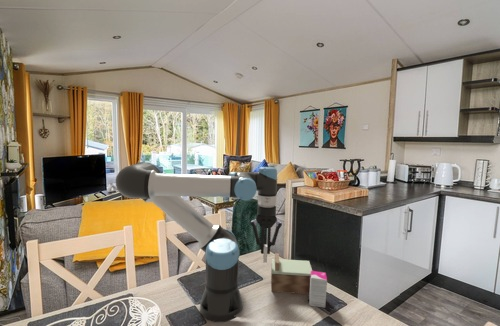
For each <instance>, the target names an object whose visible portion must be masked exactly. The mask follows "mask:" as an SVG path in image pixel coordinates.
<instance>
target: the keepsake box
mask: <svg viewBox="0 0 500 326" xmlns="http://www.w3.org/2000/svg"><path fill="white" fill-rule="evenodd" d="M270 276H271V279H270V283H271V285H270V287H271V288H270V289H271V290H270V291H271V292H272V293H286V294H287V293H288V294H303V295H305V294H306V295H309V290H310V276H299V275H283V274H272V268H271V273H270Z"/></svg>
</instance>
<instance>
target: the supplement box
mask: <svg viewBox="0 0 500 326" xmlns="http://www.w3.org/2000/svg"><path fill="white" fill-rule="evenodd" d="M327 285H328V277H327V273H326V272H323V271H316V270H312V271H311V276H310V290H309V294H308V304H309V306H312V307H318V308H319V307H320V308H326V303H327V289H328V286H327Z"/></svg>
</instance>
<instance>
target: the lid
mask: <svg viewBox="0 0 500 326" xmlns="http://www.w3.org/2000/svg"><path fill="white" fill-rule="evenodd" d="M271 269H272V274H283V275H299V276H311V271H313V269H312V265H311V263H310V260H297V259H286V258H285V259H284V258H280V254H279V253H278V252H275V253H274V258H271Z"/></svg>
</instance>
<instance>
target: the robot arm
mask: <svg viewBox="0 0 500 326" xmlns="http://www.w3.org/2000/svg"><path fill="white" fill-rule="evenodd" d="M115 187H116V189H117V191H118V193H120V194H121V195H122V196H123V197H125V198H128V199H134V200H135V199H142V201H144V202H145V203H153V204H154V205H155V207H157V208H159V209H160V210H161V211H162V212H163V213H164V214H166V215H167V216H168V217H169V218H170V219H171V220H172V221H174V222H175V223H176V224H177V225H179V226H180V227H181V228H182V229H183V230H184V231H186V232H187V233H188V234H189V235H190V236H192V237H193V238H194V239H195V240H196V241H197V242H198V248H199V249H201V250H202V251H203V252H204V253H205V254H204V258H205V287H204V290H203V293H202V296H201V299H200V304H199V305H200V308H199V311H200V314H201V315H202V317H204V318H205V319H206V320H209V321H211V322H212V321H213V322H217V323H218V322H228V321H230V320H234V319H235V318H236V315H238V314H239V313H240V312H241V311H242V309H243V302H244V301H243V298H242V295H241V291H240V289H239V265H240V264H239V263H240V262H239V260H240V259H239V258H240V250H239V245H238V241H237V238H236V236H235V234H234V233H233V232H232V231H231V230H229V229H227V228H224V227H222V226H221V225H220V224H213V223H212V222H211V221H209V220H208V218H206V217H205V216H204V215H203V214H201V212H199V211H198V210H197V209H196V208H194V207H193V206H192V205H191V204H190V203H189V202H188V201H187V200H185V199H184V198H183V197H194V198H195V197H199V198H200V197H203V198H232V199H233V198H234V199H239V200H242V201H250V200H252V199H253V198H254V197H255V195H256V194H257V213H256V214H257V215H256V217H255V219H254V220H253V219H252V220H251V221H250V225H251V226H252V228H253V233H254V234H253V235H254V239H255V242H256V245H257V246H260V254H262V255H263V259H262V260H263V261H262V263H268V255H270V254H271V247H273V246H275V245H276V242H277V238H278V234H279V231H280V229H281V228H282V224H283V222H282V221H279V220H278V218H277V206H276V205H277V189H278V171H277V168H275V167H272V166H261V167H259V168H258V170H257V171H252V172H251V171H230V172H229V174H228V175H212V174H211V175H210V174H209V175H207V174H188V173H187V174H181V173H180V174H178V173H162V172H161V170H160V168H159V167H158V166H157V165H156V164H155V163H154V164H153V163H152V162H145V161H141V162H136V163H134V164H131V165H127V166H125V167H123V168H122V169H120V171H119V172H118V173H117V175H116V178H115ZM257 225H259V227H260V228H261V229H260V231H261V232H260V233H261V234H260V236H259V232H258V227H257ZM274 225H275V229H274V232H273V236H272V238H271V235H272V233H271V230H272V227H274ZM265 229H267V242H266V243H267V244H265ZM260 237H261V238H260ZM260 239H261V240H260ZM271 239H272V240H271Z"/></svg>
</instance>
